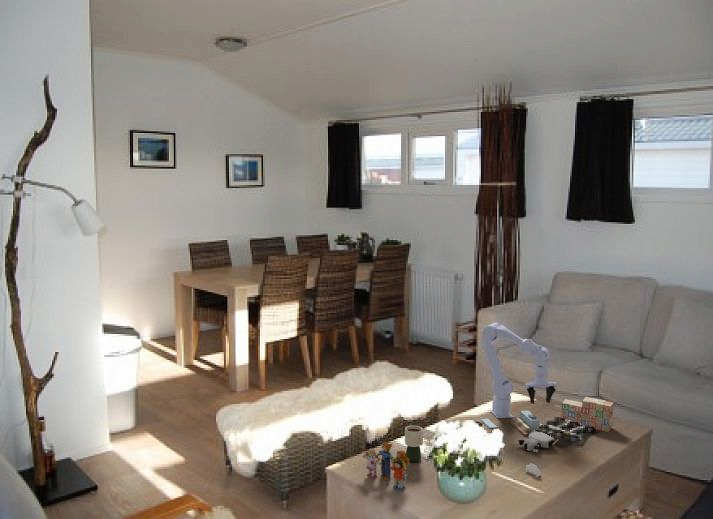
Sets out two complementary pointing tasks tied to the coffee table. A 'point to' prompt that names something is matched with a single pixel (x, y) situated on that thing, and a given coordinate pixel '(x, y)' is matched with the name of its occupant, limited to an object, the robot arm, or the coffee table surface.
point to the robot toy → (537, 441)
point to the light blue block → (529, 419)
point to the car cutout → (533, 469)
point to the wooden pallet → (521, 426)
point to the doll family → (388, 465)
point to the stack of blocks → (589, 412)
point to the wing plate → (488, 423)
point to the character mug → (413, 442)
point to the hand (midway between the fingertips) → (540, 402)
